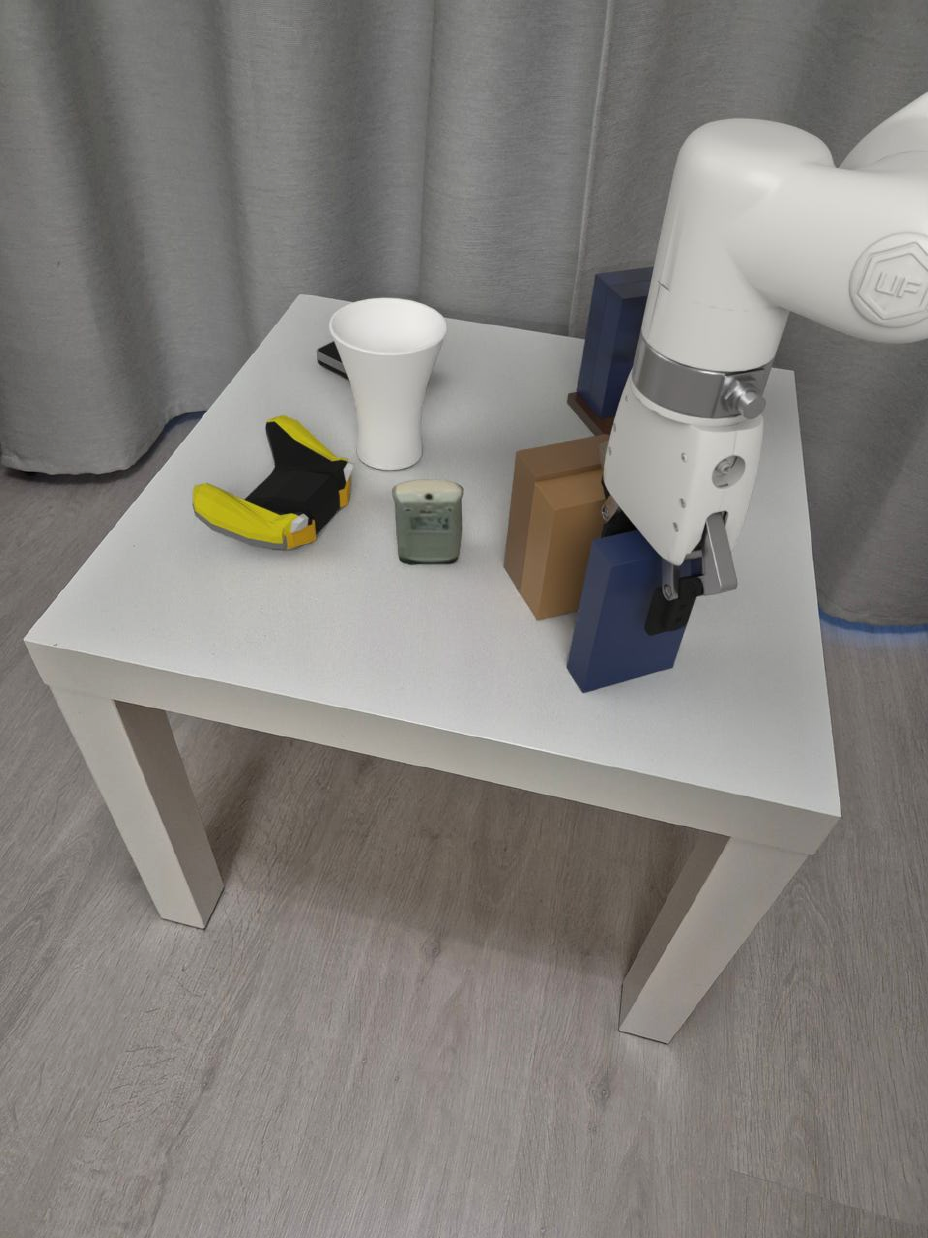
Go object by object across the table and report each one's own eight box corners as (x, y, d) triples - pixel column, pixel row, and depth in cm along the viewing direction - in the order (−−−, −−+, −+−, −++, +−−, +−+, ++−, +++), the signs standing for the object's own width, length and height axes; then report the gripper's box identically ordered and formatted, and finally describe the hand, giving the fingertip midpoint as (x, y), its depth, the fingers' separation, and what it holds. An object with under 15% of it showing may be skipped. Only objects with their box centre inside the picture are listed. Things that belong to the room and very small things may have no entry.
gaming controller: (189, 542, 76) (288, 577, 74) (177, 491, 72) (282, 526, 70) (281, 453, 86) (372, 482, 84) (275, 404, 82) (370, 432, 80)
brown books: (585, 547, 78) (607, 433, 70) (622, 599, 74) (651, 484, 65) (503, 566, 76) (516, 450, 68) (537, 621, 72) (555, 504, 63)
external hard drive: (358, 344, 102) (358, 328, 101) (431, 379, 97) (431, 362, 96) (315, 366, 98) (314, 350, 97) (389, 403, 93) (388, 386, 92)
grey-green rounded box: (414, 586, 74) (415, 511, 68) (381, 552, 77) (379, 477, 71) (469, 562, 76) (474, 488, 71) (435, 529, 79) (438, 455, 73)
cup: (449, 480, 84) (455, 351, 75) (339, 486, 83) (331, 355, 73) (435, 420, 92) (439, 295, 82) (333, 424, 90) (325, 298, 80)
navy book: (654, 643, 71) (693, 516, 61) (673, 668, 69) (715, 541, 60) (566, 667, 68) (592, 539, 59) (582, 694, 66) (611, 566, 57)
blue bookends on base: (646, 388, 98) (674, 263, 88) (737, 480, 87) (781, 348, 77) (566, 402, 95) (586, 274, 85) (649, 499, 84) (683, 365, 74)
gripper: (851, 439, 46) (752, 668, 58) (677, 294, 57) (626, 512, 70) (730, 465, 43) (655, 696, 56) (573, 308, 55) (540, 531, 67)
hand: (639, 593), depth 63 cm, fingers open, 6 cm apart
